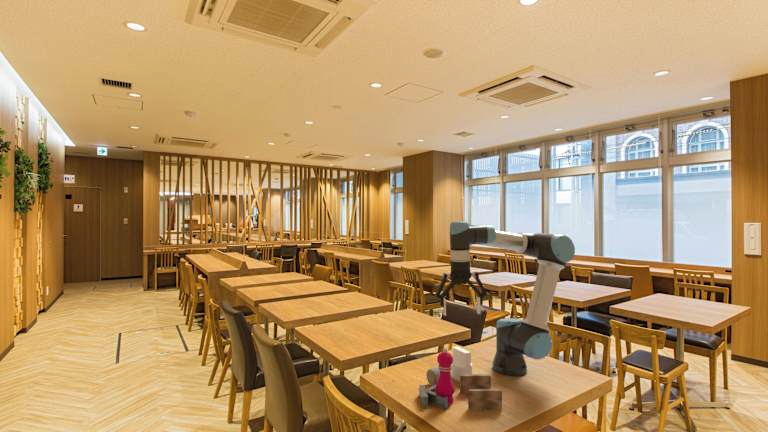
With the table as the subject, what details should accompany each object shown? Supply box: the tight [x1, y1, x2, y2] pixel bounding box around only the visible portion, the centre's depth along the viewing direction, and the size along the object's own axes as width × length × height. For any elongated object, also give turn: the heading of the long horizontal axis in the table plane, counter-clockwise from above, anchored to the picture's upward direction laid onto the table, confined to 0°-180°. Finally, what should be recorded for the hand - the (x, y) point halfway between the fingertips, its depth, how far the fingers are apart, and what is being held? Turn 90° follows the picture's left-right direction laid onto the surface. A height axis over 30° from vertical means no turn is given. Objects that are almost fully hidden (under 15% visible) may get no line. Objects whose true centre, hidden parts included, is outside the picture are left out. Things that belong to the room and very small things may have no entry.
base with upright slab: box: [450, 345, 473, 382], centre depth 173 cm, size 9×9×12 cm
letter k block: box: [418, 384, 449, 411], centre depth 151 cm, size 9×14×4 cm, turn 2°
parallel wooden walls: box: [459, 373, 503, 411], centre depth 151 cm, size 12×15×7 cm
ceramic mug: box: [426, 365, 452, 387], centre depth 164 cm, size 11×8×8 cm
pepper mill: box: [435, 348, 456, 406], centre depth 151 cm, size 7×7×20 cm
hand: (461, 314), depth 156 cm, fingers open, 13 cm apart
